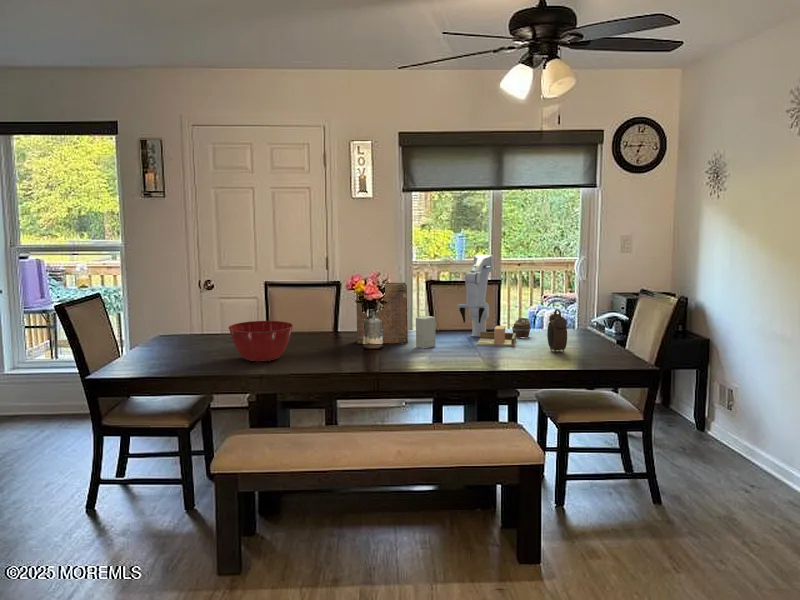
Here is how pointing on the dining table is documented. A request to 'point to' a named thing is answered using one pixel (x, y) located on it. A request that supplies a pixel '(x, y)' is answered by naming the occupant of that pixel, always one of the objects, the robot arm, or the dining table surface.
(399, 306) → the brown upright rectangular box
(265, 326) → the mixing bowl
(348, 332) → the dining table surface
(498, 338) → the block
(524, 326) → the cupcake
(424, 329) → the skincare box
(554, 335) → the brown backpack
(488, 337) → the wooden tray
